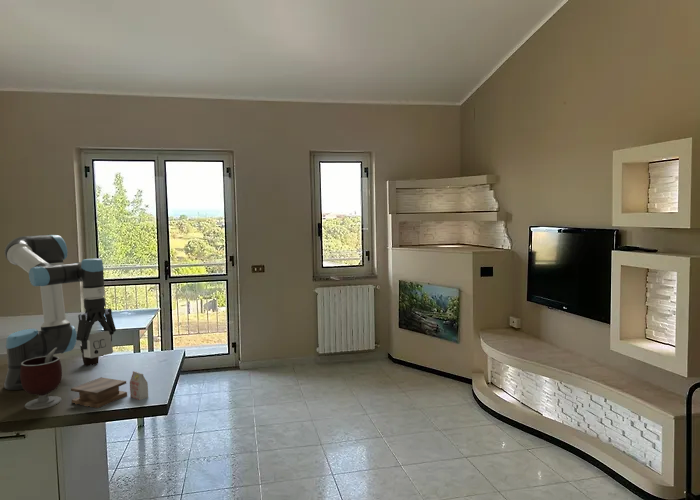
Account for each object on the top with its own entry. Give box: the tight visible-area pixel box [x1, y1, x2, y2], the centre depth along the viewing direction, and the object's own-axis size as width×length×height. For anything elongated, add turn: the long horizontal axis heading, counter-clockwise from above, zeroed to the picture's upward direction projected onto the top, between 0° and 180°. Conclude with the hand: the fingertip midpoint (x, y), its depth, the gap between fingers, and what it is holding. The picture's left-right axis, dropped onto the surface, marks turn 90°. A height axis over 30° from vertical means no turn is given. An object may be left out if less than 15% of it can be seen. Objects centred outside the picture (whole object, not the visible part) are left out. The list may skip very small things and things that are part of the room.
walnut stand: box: [70, 376, 128, 409], centre depth 202 cm, size 14×14×6 cm
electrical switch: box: [88, 330, 114, 359], centre depth 203 cm, size 9×5×9 cm, turn 142°
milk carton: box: [129, 370, 149, 401], centre depth 204 cm, size 4×7×10 cm, turn 53°
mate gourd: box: [20, 348, 63, 411], centre depth 199 cm, size 16×14×20 cm
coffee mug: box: [79, 343, 100, 367], centre depth 250 cm, size 12×9×10 cm
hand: (98, 353), depth 202 cm, fingers closed on electrical switch, 9 cm apart
